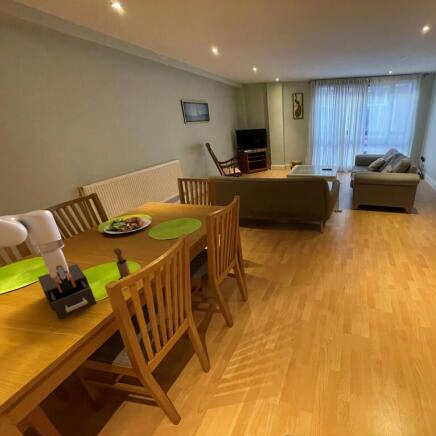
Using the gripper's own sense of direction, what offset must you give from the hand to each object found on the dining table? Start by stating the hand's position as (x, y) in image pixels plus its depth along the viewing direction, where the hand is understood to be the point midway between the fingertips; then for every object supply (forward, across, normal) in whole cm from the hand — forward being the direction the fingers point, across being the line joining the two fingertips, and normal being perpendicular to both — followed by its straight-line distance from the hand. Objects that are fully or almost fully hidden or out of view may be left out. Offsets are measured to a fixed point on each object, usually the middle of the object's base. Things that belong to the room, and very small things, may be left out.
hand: (66, 286), depth 91 cm
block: (0, 0, 0) cm, 0 cm away
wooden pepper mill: (+10, -2, +19) cm, 22 cm away
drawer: (+9, +1, 0) cm, 9 cm away
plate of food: (+10, -69, +42) cm, 82 cm away
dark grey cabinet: (+10, -11, 0) cm, 15 cm away
